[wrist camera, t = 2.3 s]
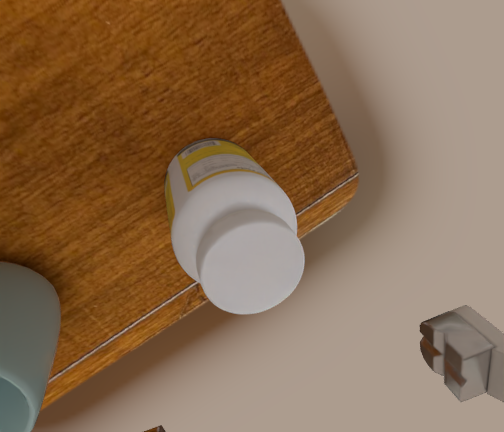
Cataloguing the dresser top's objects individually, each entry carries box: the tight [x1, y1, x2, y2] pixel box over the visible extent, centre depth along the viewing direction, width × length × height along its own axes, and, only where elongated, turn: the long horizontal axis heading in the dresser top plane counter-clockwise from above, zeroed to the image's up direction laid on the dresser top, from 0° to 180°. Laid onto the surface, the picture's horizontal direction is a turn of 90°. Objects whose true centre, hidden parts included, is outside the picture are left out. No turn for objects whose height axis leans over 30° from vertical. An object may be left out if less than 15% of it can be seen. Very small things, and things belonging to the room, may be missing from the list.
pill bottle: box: [164, 138, 305, 314], centre depth 21 cm, size 6×6×12 cm
